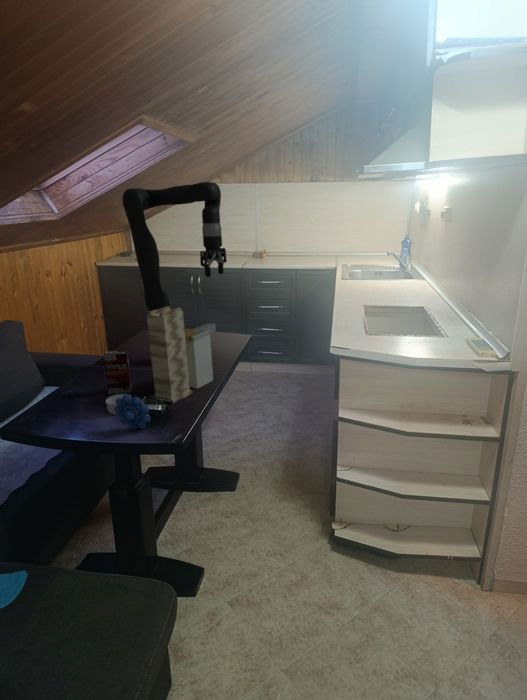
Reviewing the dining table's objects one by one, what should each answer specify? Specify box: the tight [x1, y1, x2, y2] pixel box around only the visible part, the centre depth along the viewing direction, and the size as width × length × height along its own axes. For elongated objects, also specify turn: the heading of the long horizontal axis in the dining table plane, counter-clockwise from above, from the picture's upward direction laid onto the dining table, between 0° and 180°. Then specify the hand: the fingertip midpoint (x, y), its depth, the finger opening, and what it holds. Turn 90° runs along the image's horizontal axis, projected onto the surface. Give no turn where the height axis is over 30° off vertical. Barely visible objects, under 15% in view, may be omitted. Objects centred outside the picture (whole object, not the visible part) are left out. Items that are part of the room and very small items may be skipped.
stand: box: [146, 306, 193, 404], centre depth 171 cm, size 11×10×33 cm
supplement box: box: [103, 349, 133, 395], centre depth 180 cm, size 9×5×16 cm, turn 101°
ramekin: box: [105, 393, 133, 415], centre depth 165 cm, size 9×9×4 cm
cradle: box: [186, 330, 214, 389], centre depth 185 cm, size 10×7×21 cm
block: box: [185, 322, 217, 342], centre depth 183 cm, size 18×4×4 cm, turn 148°
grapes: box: [114, 393, 152, 430], centre depth 148 cm, size 12×7×12 cm, turn 83°
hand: (214, 275), depth 193 cm, fingers open, 8 cm apart
